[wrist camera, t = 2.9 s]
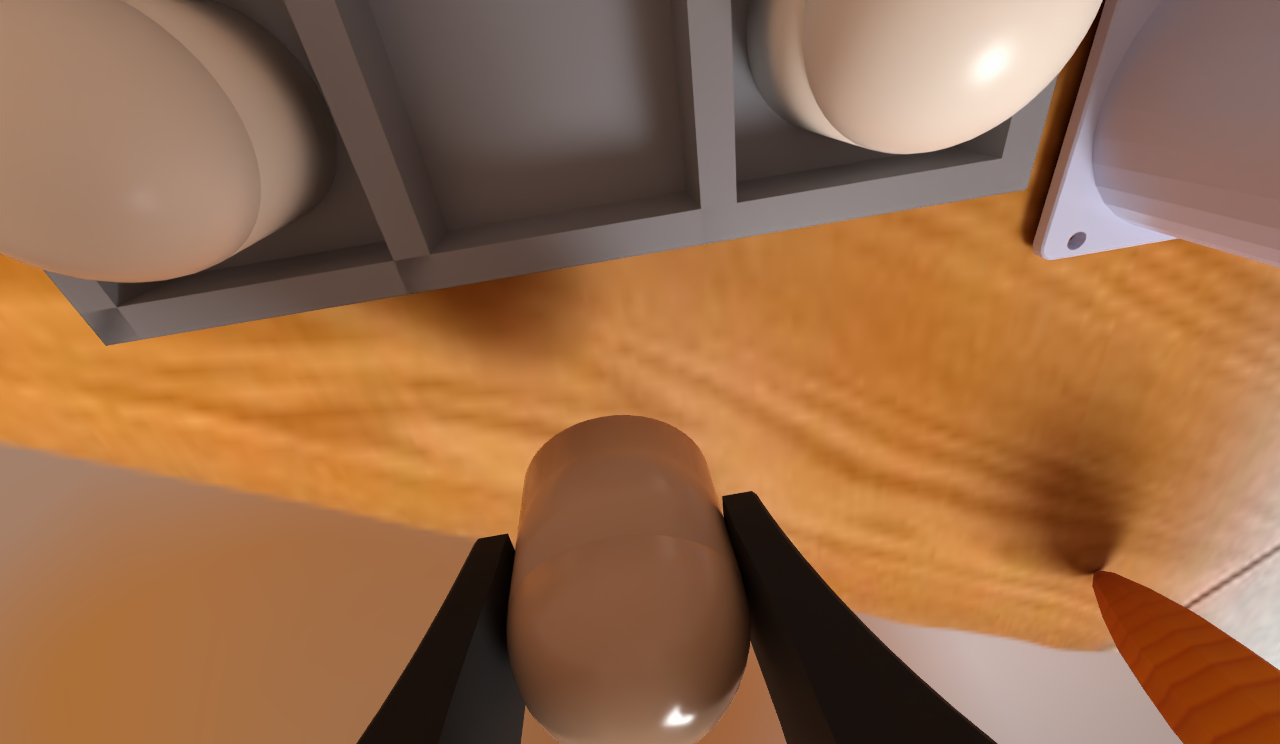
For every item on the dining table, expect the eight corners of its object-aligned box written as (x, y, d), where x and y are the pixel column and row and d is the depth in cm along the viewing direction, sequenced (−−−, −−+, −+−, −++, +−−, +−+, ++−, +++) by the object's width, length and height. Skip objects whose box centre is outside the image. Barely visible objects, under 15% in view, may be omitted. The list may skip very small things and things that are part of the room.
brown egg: (702, 399, 11) (791, 650, 6) (713, 533, 13) (784, 785, 9) (500, 434, 11) (441, 712, 6) (548, 562, 13) (531, 831, 8)
